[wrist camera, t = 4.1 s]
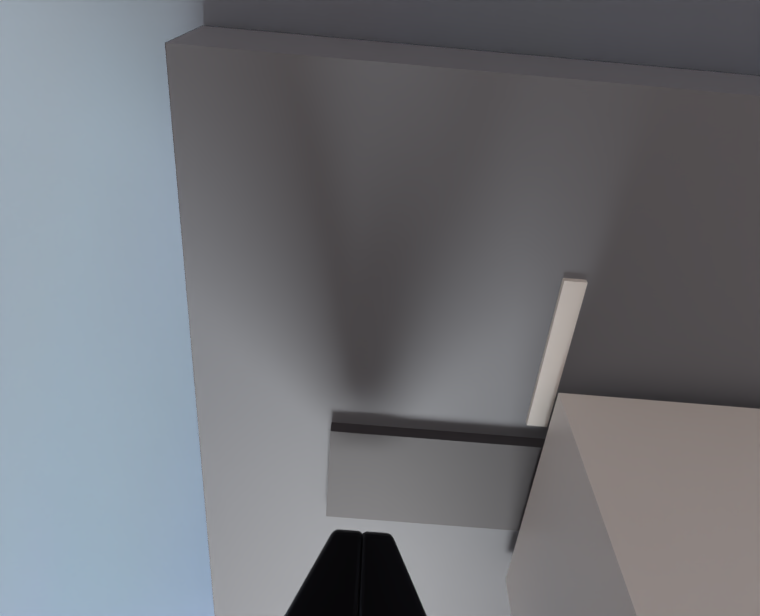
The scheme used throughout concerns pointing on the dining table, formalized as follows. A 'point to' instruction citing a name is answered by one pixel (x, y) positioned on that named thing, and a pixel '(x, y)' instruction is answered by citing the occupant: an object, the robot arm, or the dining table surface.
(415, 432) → the console board
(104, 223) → the dining table surface
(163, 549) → the dining table surface
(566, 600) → the block
